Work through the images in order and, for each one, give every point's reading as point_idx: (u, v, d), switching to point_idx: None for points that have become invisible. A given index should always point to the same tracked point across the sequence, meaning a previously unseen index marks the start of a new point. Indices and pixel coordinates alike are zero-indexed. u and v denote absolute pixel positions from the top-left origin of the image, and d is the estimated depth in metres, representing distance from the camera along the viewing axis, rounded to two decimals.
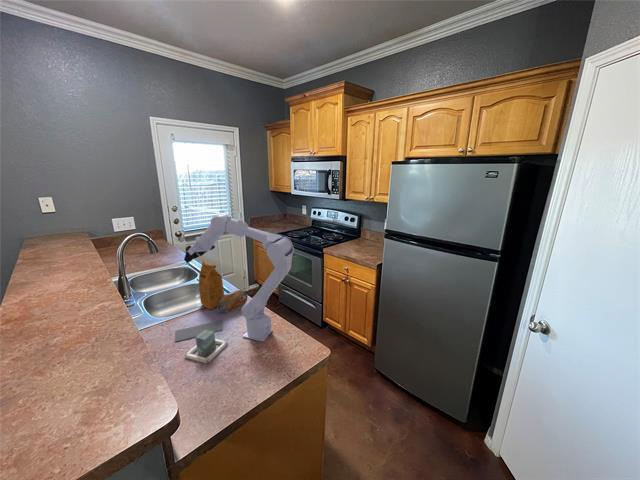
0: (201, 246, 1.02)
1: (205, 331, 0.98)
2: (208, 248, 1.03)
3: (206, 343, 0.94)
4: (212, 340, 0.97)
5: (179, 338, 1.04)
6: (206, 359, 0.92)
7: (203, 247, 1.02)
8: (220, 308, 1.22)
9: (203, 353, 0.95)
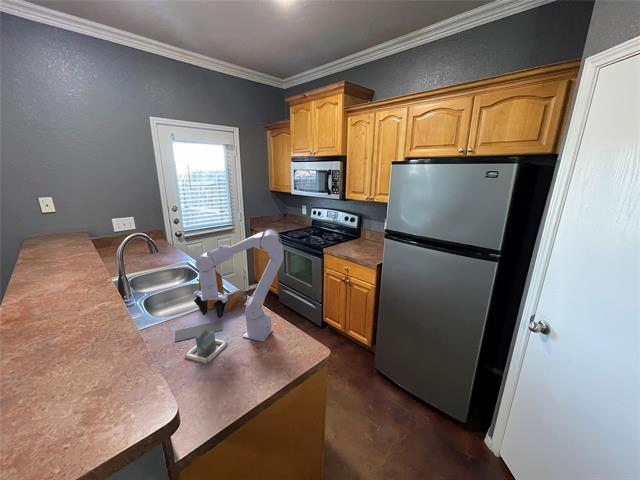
0: (216, 293, 1.00)
1: (205, 331, 0.98)
2: None
3: (206, 343, 0.94)
4: (212, 340, 0.97)
5: (179, 338, 1.04)
6: (206, 359, 0.92)
7: (217, 291, 1.01)
8: None
9: (203, 353, 0.95)
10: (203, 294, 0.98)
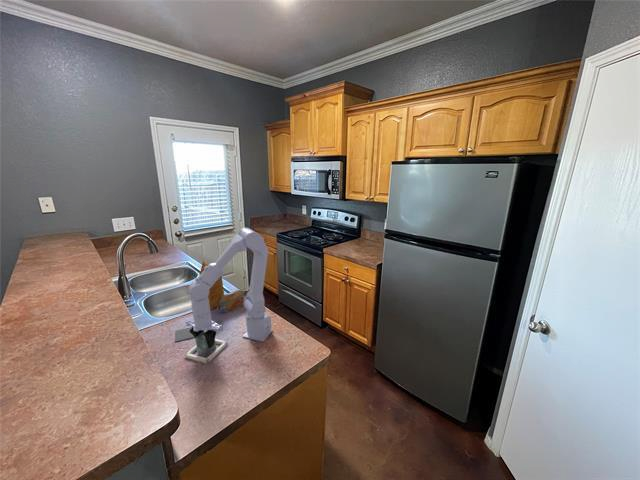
0: (210, 322, 0.94)
1: (205, 331, 0.98)
2: None
3: (206, 343, 0.94)
4: None
5: (179, 338, 1.04)
6: (206, 359, 0.92)
7: (211, 320, 0.95)
8: (220, 308, 1.22)
9: (203, 353, 0.95)
10: (196, 324, 0.92)
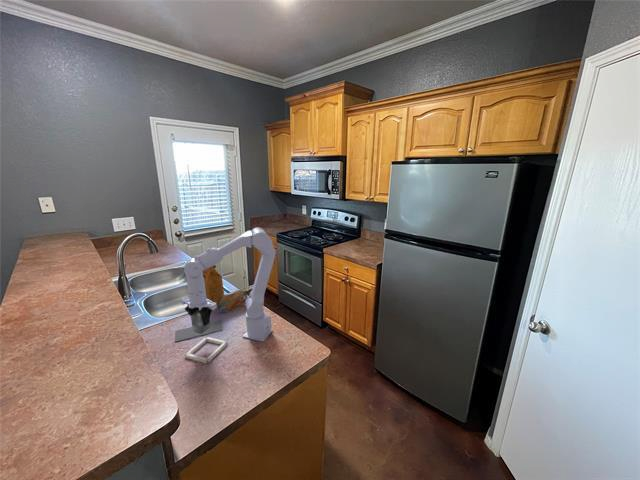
0: (205, 300, 0.96)
1: None
2: None
3: (201, 321, 0.96)
4: None
5: (179, 338, 1.04)
6: (206, 359, 0.92)
7: (206, 298, 0.97)
8: (220, 308, 1.22)
9: (198, 331, 0.97)
10: (191, 301, 0.94)
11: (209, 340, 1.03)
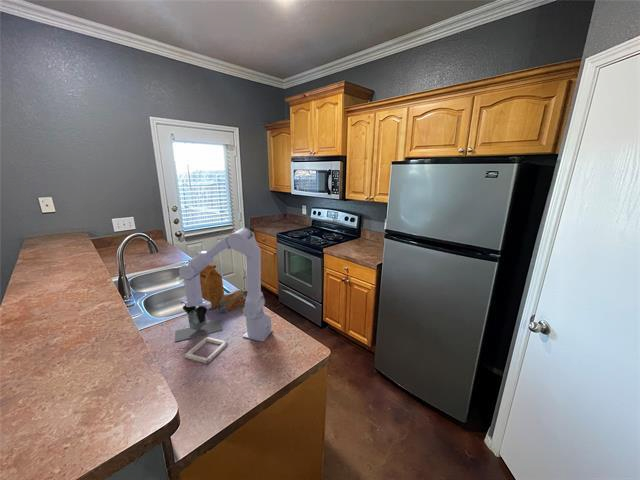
0: (201, 299, 1.06)
1: None
2: None
3: (197, 319, 1.06)
4: None
5: (179, 338, 1.04)
6: (206, 359, 0.92)
7: (202, 298, 1.07)
8: (220, 308, 1.22)
9: (194, 328, 1.06)
10: (188, 301, 1.04)
11: (209, 340, 1.03)
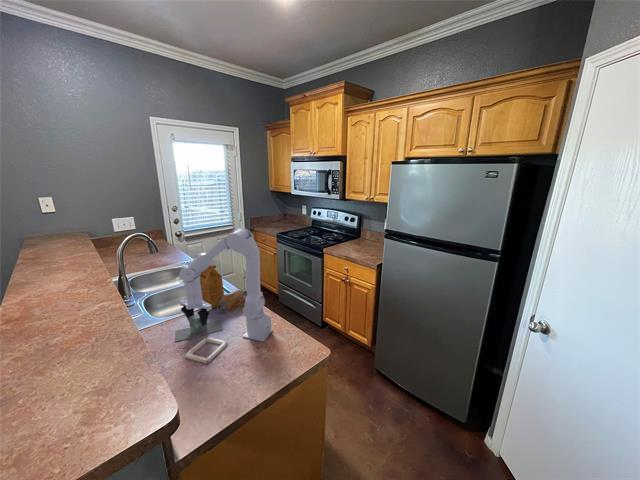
0: (201, 301, 1.06)
1: (197, 313, 1.10)
2: None
3: (198, 323, 1.06)
4: None
5: (179, 338, 1.04)
6: (206, 359, 0.92)
7: (202, 300, 1.07)
8: (220, 308, 1.22)
9: (195, 332, 1.07)
10: (188, 303, 1.04)
11: (209, 340, 1.03)
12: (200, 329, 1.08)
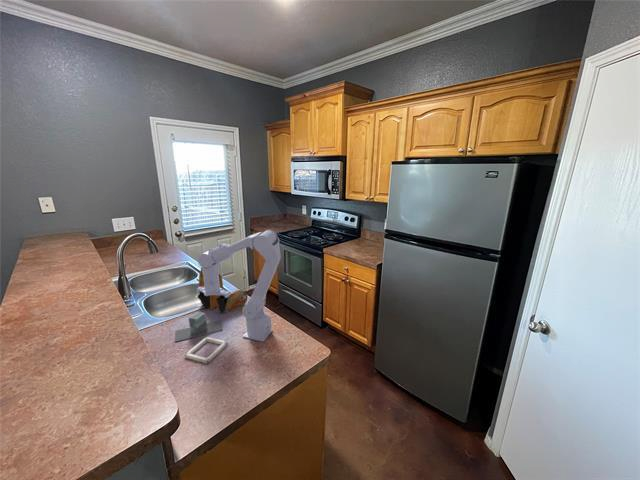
0: (219, 288, 1.05)
1: (197, 313, 1.10)
2: None
3: (198, 323, 1.06)
4: (203, 320, 1.09)
5: (179, 338, 1.04)
6: (206, 359, 0.92)
7: (219, 287, 1.06)
8: None
9: (195, 332, 1.07)
10: (206, 290, 1.03)
11: (209, 340, 1.03)
12: (200, 329, 1.08)
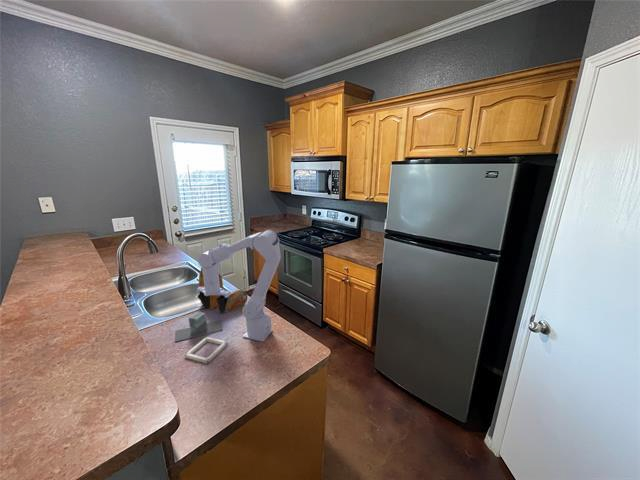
0: (219, 288, 1.05)
1: (197, 313, 1.10)
2: None
3: (198, 323, 1.06)
4: (203, 320, 1.09)
5: (179, 338, 1.04)
6: (206, 359, 0.92)
7: (219, 287, 1.06)
8: None
9: (195, 332, 1.07)
10: (206, 290, 1.03)
11: (209, 340, 1.03)
12: (200, 329, 1.08)
